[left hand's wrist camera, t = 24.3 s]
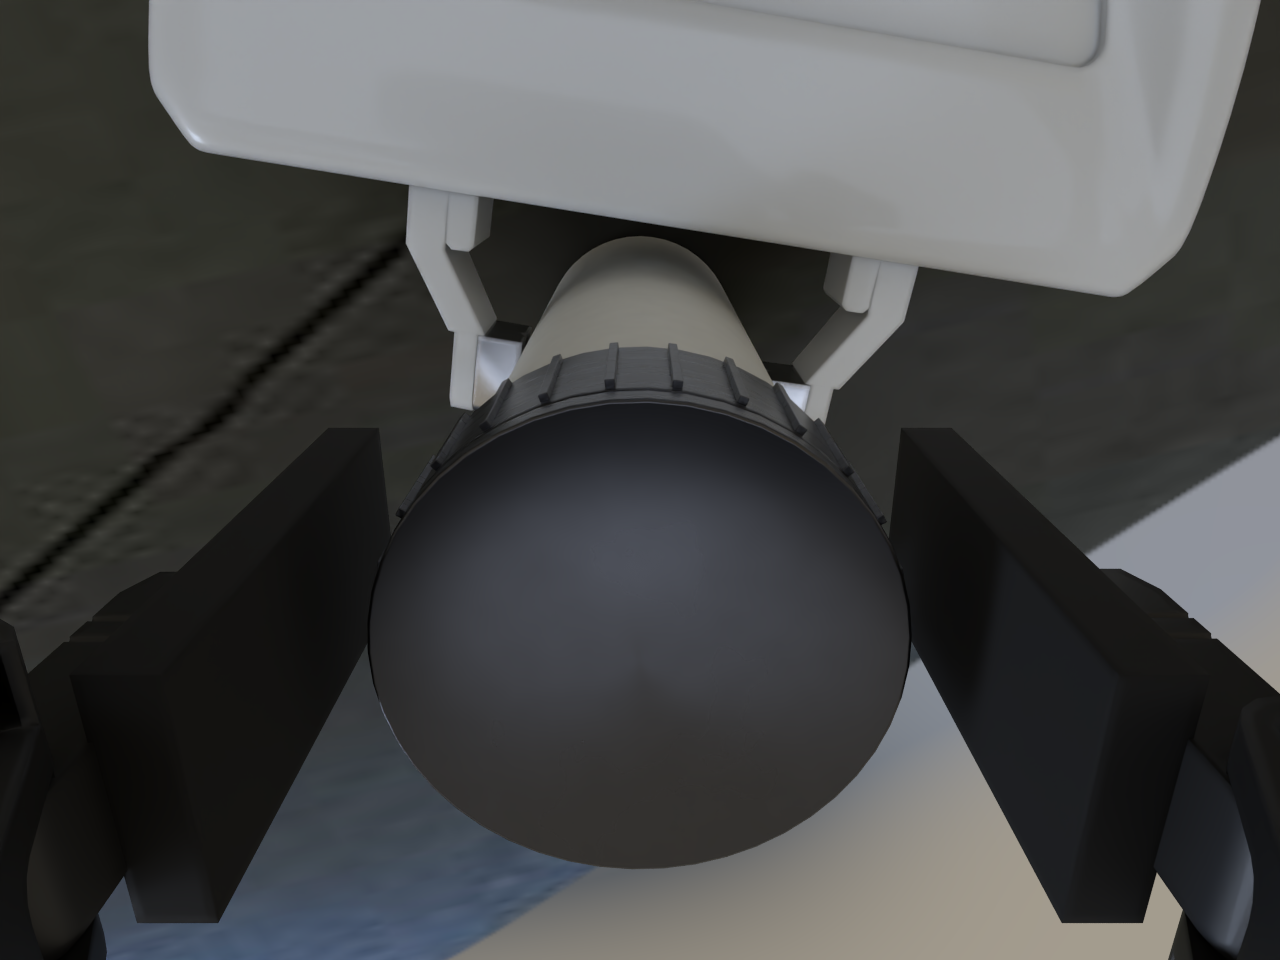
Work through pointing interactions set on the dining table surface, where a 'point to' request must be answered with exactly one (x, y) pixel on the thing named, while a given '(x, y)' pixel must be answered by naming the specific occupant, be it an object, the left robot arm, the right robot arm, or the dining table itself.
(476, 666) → the lid
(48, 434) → the dining table surface
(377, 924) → the dining table surface
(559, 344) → the jar
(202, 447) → the dining table surface
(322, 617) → the left robot arm
